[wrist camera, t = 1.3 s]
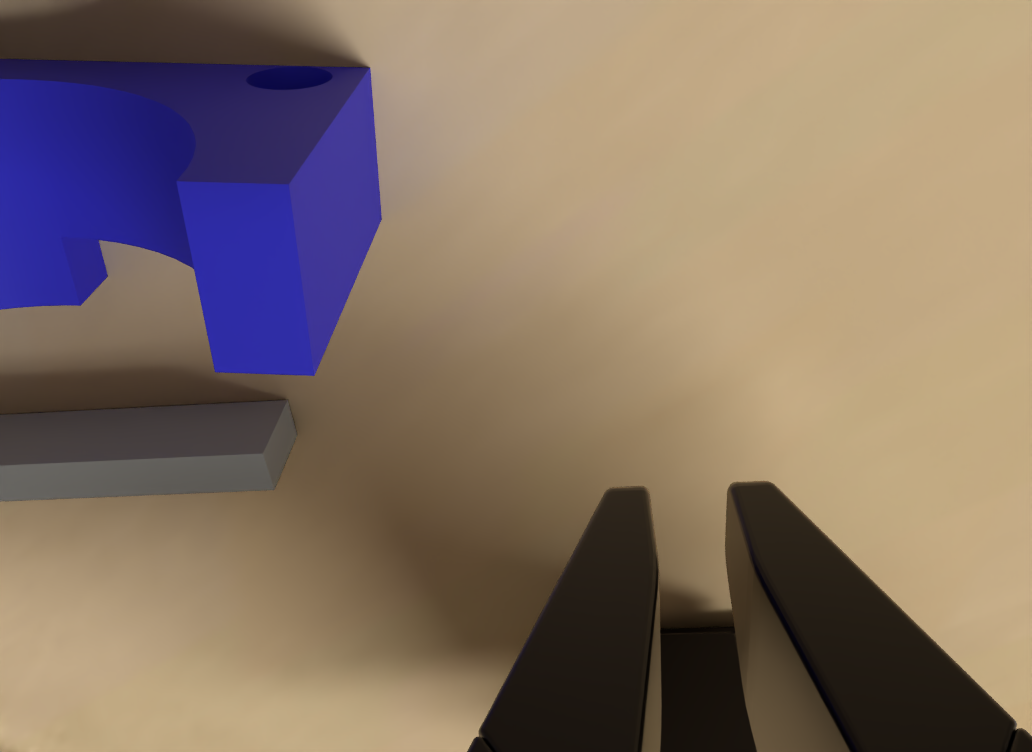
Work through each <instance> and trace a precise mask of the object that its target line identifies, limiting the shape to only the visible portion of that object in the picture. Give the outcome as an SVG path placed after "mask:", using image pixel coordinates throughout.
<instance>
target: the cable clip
mask: <svg viewBox="0 0 1032 752" xmlns="http://www.w3.org/2000/svg"><path fill="white" fill-rule="evenodd" d="M381 220H382V218H381V205H380V191H379V178H378V165H377V152H376V139H375V126H374V112H373V99H372V86H371V73H370V68H364V67H322V66H280V65H238V64H195V63H153V62H111V61H69V60H27V59H0V310H1V309H9V308H18V307H33V306H59V305H78V306H81V304H82V303H83V302H84V301H85V300H86V299H87V298H88V297H89V296H90V295H91V294H92V293H93V292H94V291H95V289H96V288H97V287H98V286H99V285H100V284H101V283H102V282H103V281H104V280H105V279H106V278H107V277H108V275H107V271H106V268H105V264H104V260H103V256H102V252H101V248H100V245H99V241H98V240H103V241H110V242H117V243H123V244H128V245H132V246H137V247H141V248H145V249H148V250H152V251H155V252H159V253H161V254H164V255H167V256H169V257H172V258H174V259H177V260H178V261H180V262H182V263H184V264H186V265H188V266H190V267H192V268H193V269H194V271H195V276H196V281H197V285H198V290H199V295H200V300H201V305H202V310H203V315H204V320H205V325H206V330H207V335H208V339H209V344H210V349H211V354H212V359H213V364H214V369H215V372H223V373H251V374H279V375H307V376H314V375H315V373H316V371H317V368H318V366H319V364H320V361H321V359H322V357H323V354H324V352H325V350H326V348H327V345H328V343H329V341H330V338H331V336H332V334H333V331H334V329H335V327H336V324H337V322H338V320H339V317H340V315H341V313H342V310H343V308H344V306H345V303H346V301H347V299H348V296H349V294H350V292H351V289H352V287H353V285H354V282H355V280H356V278H357V275H358V273H359V271H360V268H361V266H362V264H363V261H364V259H365V257H366V254H367V252H368V250H369V247H370V245H371V243H372V240H373V238H374V236H375V233H376V231H377V229H378V227H379V224H380V222H381Z"/></svg>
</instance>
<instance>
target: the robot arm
mask: <svg viewBox="0 0 1032 752" xmlns="http://www.w3.org/2000/svg"><path fill="white" fill-rule="evenodd" d="M725 555H726V567H727V575H728V582H729V590H730V597H731V604H732V612H733V619H734V627H717V628H678V629H660V588H659V563H658V554H657V546H656V539H655V531H654V524H653V516H652V508H651V501H650V494H649V491H648V489H647V488H646V487H644V486H631V487H612V488H609V489H608V490H607V491H606V492H605V493H604V495H603V497H602V499H601V501H600V503H599V504H598V506H597V508H596V510H595V512H594V514H593V516H592V518H591V520H590V521H589V523H588V525H587V527H586V529H585V531H584V533H583V535H582V537H581V538H580V540H579V542H578V544H577V546H576V548H575V550H574V552H573V554H572V555H571V557H570V559H569V561H568V563H567V565H566V567H565V569H564V571H563V572H562V574H561V576H560V578H559V580H558V582H557V584H556V586H555V588H554V589H553V591H552V593H551V595H550V597H549V599H548V601H547V603H546V605H545V606H544V608H543V610H542V612H541V614H540V616H539V618H538V620H537V622H536V623H535V625H534V627H533V629H532V631H531V633H530V635H529V637H528V638H527V640H526V642H525V644H524V646H523V648H522V650H521V652H520V654H519V655H518V657H517V659H516V661H515V663H514V665H513V667H512V669H511V671H510V672H509V674H508V676H507V678H506V680H505V682H504V684H503V686H502V688H501V689H500V691H499V693H498V695H497V697H496V699H495V701H494V703H493V705H492V706H491V708H490V710H489V712H488V714H487V716H486V718H485V720H484V722H483V723H482V725H481V727H480V729H479V737H476V738H474V740H473V742H472V743H471V745H470V747H469V749H468V751H467V752H1032V736H1031V735H1030V734H1029V733H1028V732H1027V731H1026V730H1025V729H1022V728H1019V729H1017V730H1016V727H1017V723H1016V721H1015V720H1014V719H1013V718H1012V717H1011V716H1010V715H1009V714H1008V713H1007V712H1006V711H1005V710H1004V709H1003V708H1002V707H1001V706H1000V705H999V704H998V703H997V702H996V701H995V700H994V699H993V698H992V697H991V696H990V695H989V694H988V693H987V692H986V691H985V690H983V689H982V688H981V687H980V686H979V685H978V684H977V683H976V682H975V681H974V680H973V679H972V678H971V677H970V676H969V675H968V674H967V673H966V672H965V671H964V670H963V669H962V668H961V667H960V666H959V665H958V664H957V663H956V662H955V661H954V660H953V659H952V658H951V657H950V656H949V655H948V654H947V653H946V652H945V651H944V650H943V649H942V648H941V647H940V646H939V645H938V644H937V643H936V642H935V641H934V640H932V639H931V638H930V637H929V636H928V635H927V634H926V633H925V632H924V631H923V630H922V629H921V628H920V627H919V626H918V625H917V624H916V623H915V622H914V621H913V620H912V619H911V618H910V617H909V616H908V615H907V614H906V613H905V612H904V611H903V610H902V609H901V608H900V607H899V606H898V605H897V604H896V603H895V602H894V601H893V600H892V599H891V598H890V597H889V596H888V595H887V594H886V593H885V592H884V591H882V590H881V589H880V588H879V587H878V586H877V585H876V584H875V583H874V582H873V581H872V580H871V579H870V578H869V577H868V576H867V575H866V574H865V573H864V572H863V571H862V570H861V569H860V568H859V567H858V566H857V565H856V564H855V563H854V562H853V561H852V560H851V559H850V558H849V557H848V556H847V555H846V554H845V553H844V552H843V551H842V550H841V549H840V548H839V547H838V546H837V545H836V544H835V543H834V542H833V541H831V540H830V539H829V538H828V537H827V536H826V535H825V534H824V533H823V532H822V531H821V530H820V529H819V528H818V527H817V526H816V525H815V524H814V523H813V522H812V521H811V520H810V519H809V518H808V517H807V516H806V515H805V514H804V513H803V512H802V511H801V510H800V509H799V508H798V507H797V506H796V505H795V504H794V503H793V502H792V501H791V500H790V499H789V498H788V497H787V496H786V495H785V494H784V493H783V492H781V491H780V490H779V489H778V488H777V487H776V486H775V485H774V484H773V483H771V482H768V481H752V482H734V483H732V484H731V485H730V486H729V488H728V491H727V509H726V536H725ZM1015 730H1016V731H1015Z"/></svg>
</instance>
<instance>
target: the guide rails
mask: <svg viewBox="0 0 1032 752" xmlns="http://www.w3.org/2000/svg"><path fill="white" fill-rule="evenodd" d="M296 437H297V431H296V428H295V424H294V421H293V417H292V414H291V410H290V406H289V403H288V400H277V401H258V402H238V403H219V404H200V405H180V406H161V407H141V408H122V409H103V410H83V411H64V412H44V413H25V414H6V415H0V501H23V500H47V499H70V498H94V497H118V496H142V495H166V494H190V493H214V492H237V491H261V490H274V489H275V487H276V485H277V482H278V480H279V478H280V475H281V473H282V470H283V468H284V466H285V463H286V461H287V459H288V456H289V454H290V451H291V449H292V447H293V444H294V442H295V440H296Z"/></svg>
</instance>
